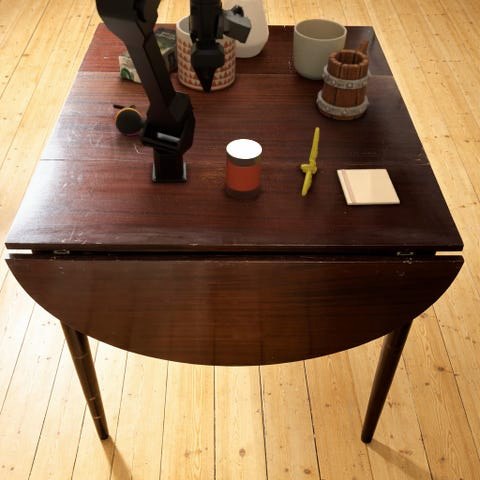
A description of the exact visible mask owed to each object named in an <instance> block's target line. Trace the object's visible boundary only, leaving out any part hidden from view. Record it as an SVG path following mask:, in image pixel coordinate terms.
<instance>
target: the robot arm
mask: <svg viewBox="0 0 480 480" xmlns="http://www.w3.org/2000/svg"><path fill="white" fill-rule="evenodd" d="M94 2H95V8H96V12H97V15H98V16H99V18H100V20H101V21H102V23H103V24H104V25H105V27H106V29H107V30H108V31H109V32H111V34H113V35H114V36H115V37H117V38H118V39H119V40H120V41H121V42H123V44H124V46H125V48H126V51H128V53H129V55H130V58H131V60H132V62H133V65H134V67H135V69H136V72H137V74H138V76H139V79H140V81H141V83H140V84H141V85H142V88H143V90H144V93H145V95H146V97H147V100H148V102H149V104H148V107H147V108H146V112H145V116H146V118H145V120H146V121H145V124H144V127H143V129H141V134H140V137H139V140H140V143H141V145H142V146H143V147H148V148H151V149H152V155H153V162H152V183H153V184H157V183H159V184H160V183H162V184H163V183H186V182H187V163H186V161H184V155H185V154H186V153H187V152H188V151H189V150H190V149H191V148H192V147H193V144H194V137H195V131H196V124H197V123H196V121H197V120H196V117H195V113H194V110H195V107H194V106H193V104H192V99H191V97H190V95H189V94H188V92H183V91H179V90H176V89H175V87H174V84H173V81H172V79H171V75H170V72H169V73H168V70H167V67H166V64H165V62H164V59H163V56H162V53H161V50H160V48H159V45H158V42H157V39H156V37H155V34H154V31H155V27H156V24H157V21H158V18H159V12H158V10H159V7H160V5H161V3H162V0H94ZM188 15H189V16H188ZM188 15H187V16H188V17H189V33H190V38H191V41H192V44H193V45H192V46H191V47H190V58H191V66H192V68H193V69H194V71H195V73H196V75H197V77H198V79H199V82H200V84H201V86H202V88H203V90H204V91H203V93H205V94H211V92H212V91H211V87H212V83H213V79H214V75H215V71H216V70H217V69H218V68H221V67H223V66H224V65H225V52H224V47H223V46H222V45H221V44H220V43H219V42H216V40H217V39H223V34H224V35H225V36H227V37H230V38H232V39H235V40H238V41H239V42H240V43H243V44H245V43H246V41H247V38H248V36H249V33H250V31H251V28H252V25H251V21H250V19H248V16H246V17H244V10H243V7H242V6H240V5H237V4H236V5H235V6H234V7H233V8H232V9H231V10H230V9H228V11H227V10H224V9H223V1H222V0H189V14H188Z"/></svg>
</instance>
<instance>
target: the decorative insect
mask: <svg viewBox="0 0 480 480" xmlns="http://www.w3.org/2000/svg"><path fill="white" fill-rule="evenodd" d="M319 141H320V128H319V127H315V131H314V135H313V141H312V146H311V147H312V148H311V151H310V155H309V159H308V161H309V164H305V163H303V164H301V166H300V170H302V173H305V178H304V182H303V186H302V191H301V196H305V197H306V195H307V193H308V190H309V189H310V187H311V186H312V182H313V181H312V178H313V177H312V176H313V175H315V174H316V172H317V171H318V170H317V169H318V168H317V166H316V164H317V162H316V159H317V157H318V154H319V153H318V152H319V151H318V150H319V149H318V148H319V147H318V146H319Z"/></svg>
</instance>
